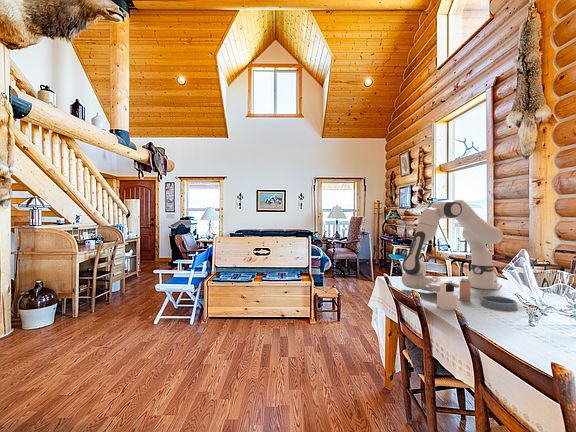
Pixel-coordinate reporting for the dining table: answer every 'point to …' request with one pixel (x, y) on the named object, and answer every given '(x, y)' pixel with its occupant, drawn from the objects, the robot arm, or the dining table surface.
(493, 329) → the dining table surface
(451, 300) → the medicine bottle
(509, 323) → the dining table surface
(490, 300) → the bowl
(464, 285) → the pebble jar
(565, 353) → the dining table surface
